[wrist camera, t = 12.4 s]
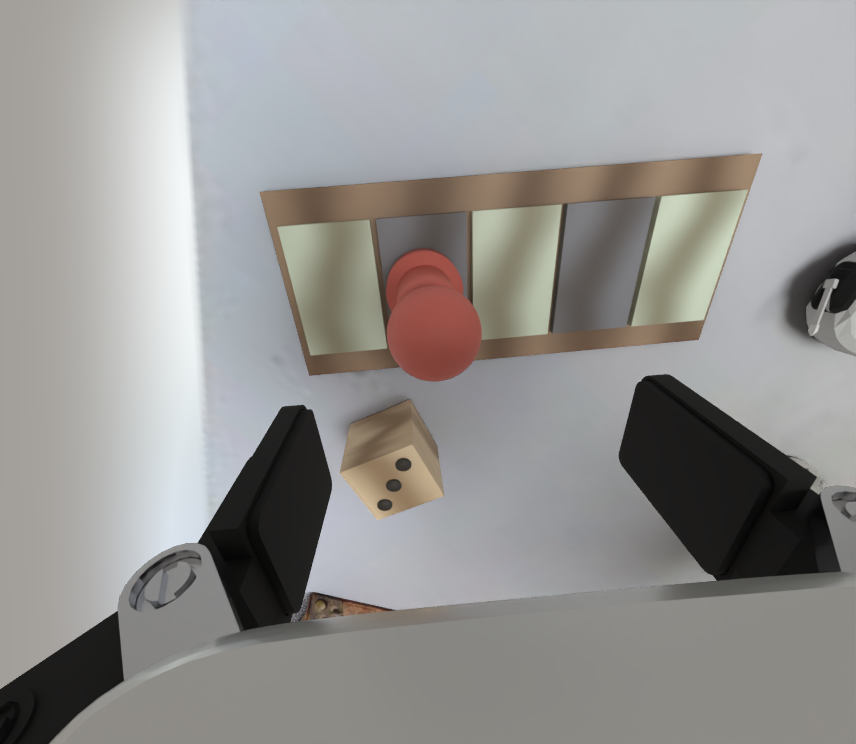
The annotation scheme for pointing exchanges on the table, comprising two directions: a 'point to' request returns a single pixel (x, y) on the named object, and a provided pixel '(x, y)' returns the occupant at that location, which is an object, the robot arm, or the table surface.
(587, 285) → the board
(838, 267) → the robot toy
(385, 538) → the table surface
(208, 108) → the table surface
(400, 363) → the pawn
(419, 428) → the die
